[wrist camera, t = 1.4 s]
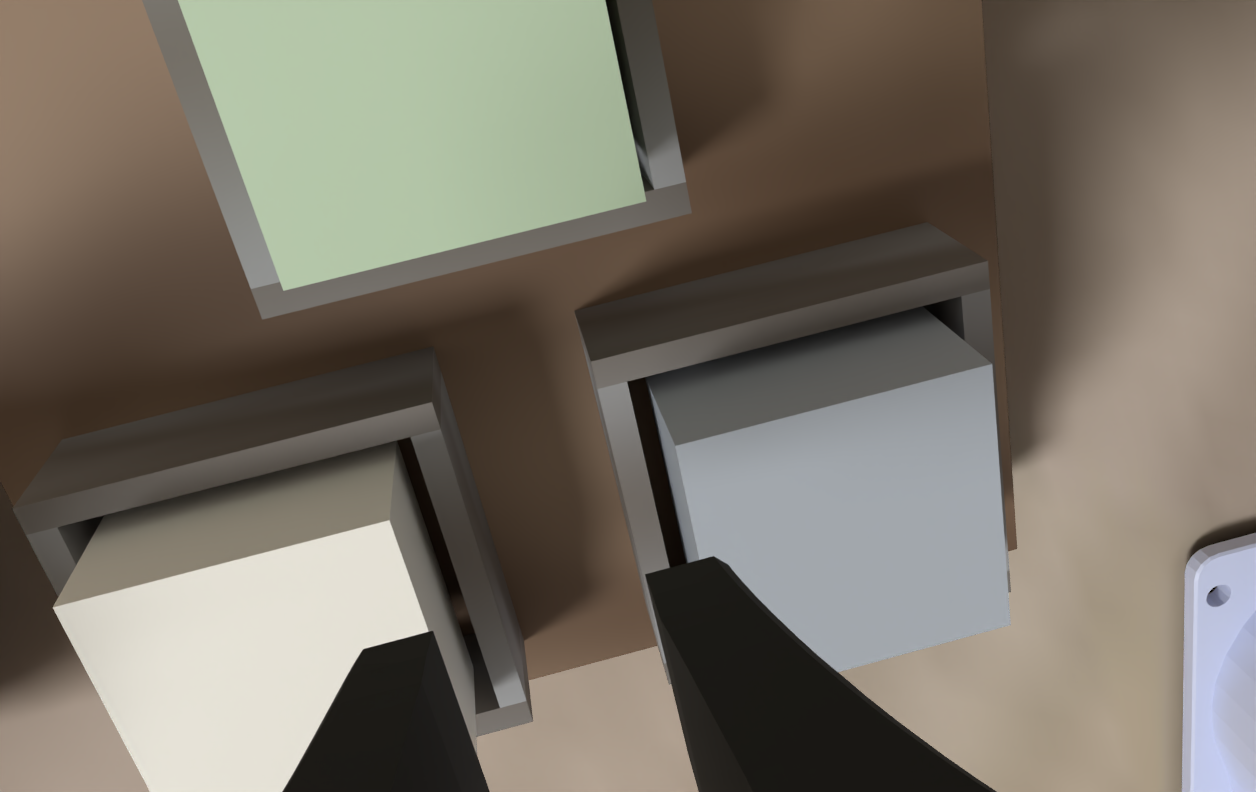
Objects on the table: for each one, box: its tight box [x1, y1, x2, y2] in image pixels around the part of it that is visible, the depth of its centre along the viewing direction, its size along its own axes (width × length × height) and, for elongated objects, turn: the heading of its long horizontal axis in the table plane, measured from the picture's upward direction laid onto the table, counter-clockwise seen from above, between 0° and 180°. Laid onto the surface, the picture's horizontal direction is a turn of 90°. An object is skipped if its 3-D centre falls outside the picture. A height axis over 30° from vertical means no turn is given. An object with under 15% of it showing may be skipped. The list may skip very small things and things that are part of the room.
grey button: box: [645, 306, 1011, 672], centre depth 15 cm, size 4×4×2 cm
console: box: [0, 0, 1017, 737], centre depth 16 cm, size 14×15×4 cm
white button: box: [53, 441, 477, 792], centre depth 15 cm, size 4×4×2 cm
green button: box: [178, 0, 646, 291], centre depth 12 cm, size 4×4×2 cm
